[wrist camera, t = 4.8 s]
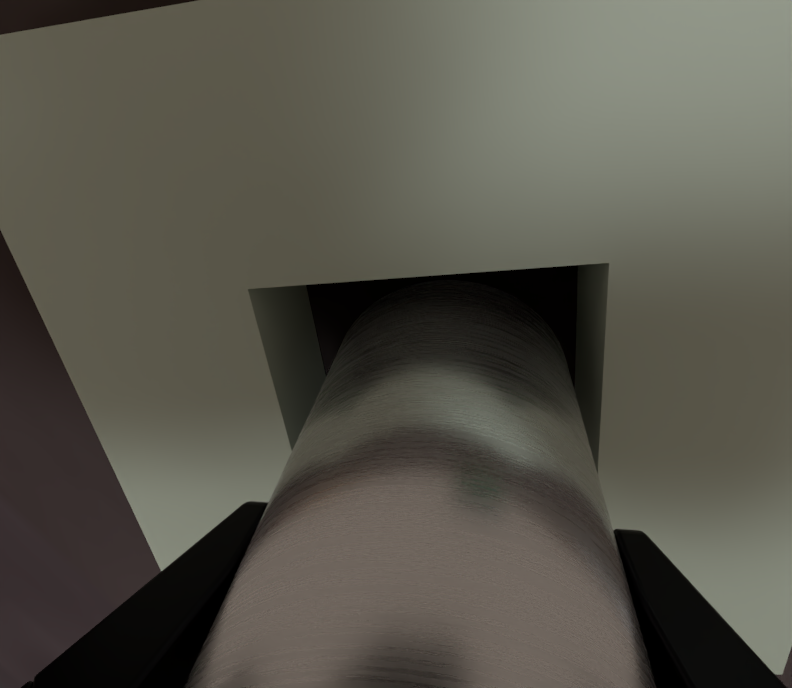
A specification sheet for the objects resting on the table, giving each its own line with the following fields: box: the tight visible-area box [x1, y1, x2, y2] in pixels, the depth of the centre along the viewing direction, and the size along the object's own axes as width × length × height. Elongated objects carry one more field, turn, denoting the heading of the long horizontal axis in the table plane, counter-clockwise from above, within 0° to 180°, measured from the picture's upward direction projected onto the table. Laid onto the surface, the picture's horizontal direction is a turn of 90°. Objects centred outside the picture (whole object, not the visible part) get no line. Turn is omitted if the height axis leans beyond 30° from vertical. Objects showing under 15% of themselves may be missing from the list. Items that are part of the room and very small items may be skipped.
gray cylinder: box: [184, 280, 657, 688], centre depth 8 cm, size 5×5×8 cm
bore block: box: [0, 0, 792, 675], centre depth 12 cm, size 15×15×3 cm
